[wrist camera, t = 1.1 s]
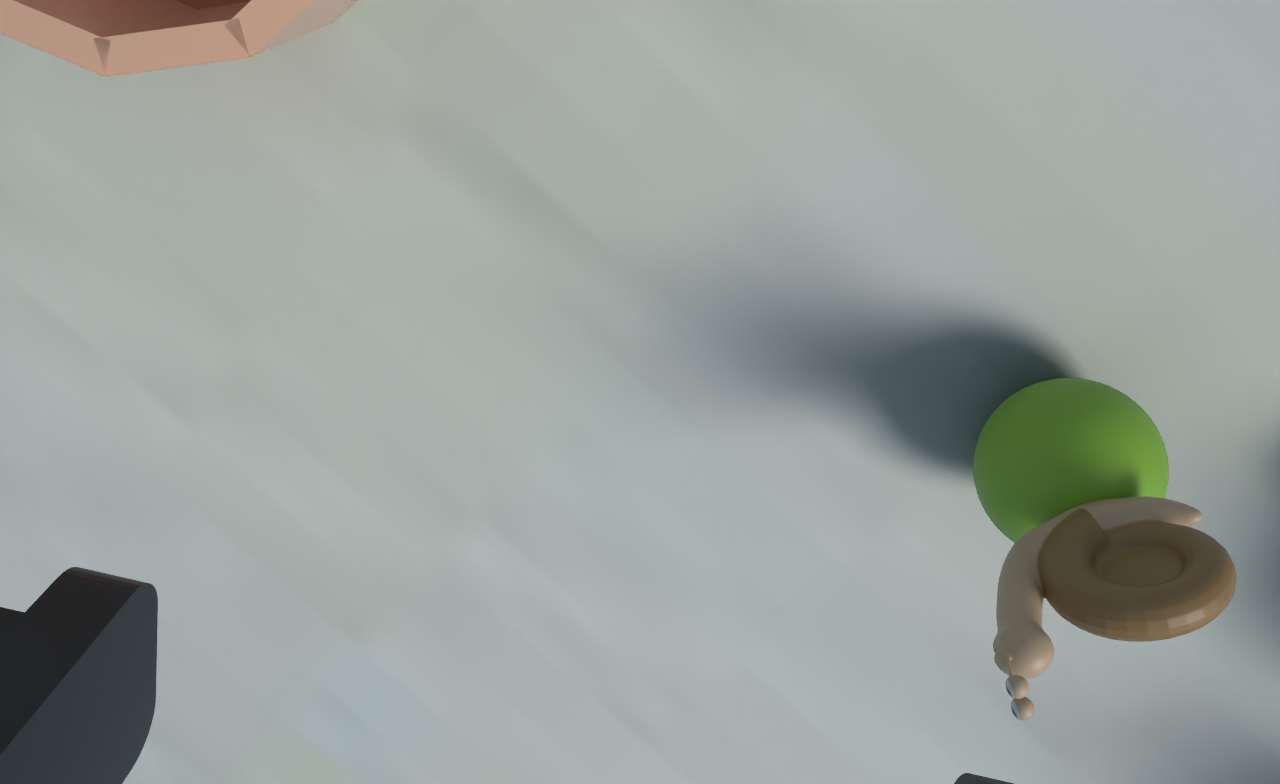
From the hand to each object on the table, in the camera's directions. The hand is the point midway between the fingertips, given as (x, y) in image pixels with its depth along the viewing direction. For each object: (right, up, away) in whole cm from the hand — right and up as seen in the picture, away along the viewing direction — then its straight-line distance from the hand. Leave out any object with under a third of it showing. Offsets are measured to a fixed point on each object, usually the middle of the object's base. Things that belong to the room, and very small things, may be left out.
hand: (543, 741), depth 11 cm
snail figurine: (+14, +2, +25) cm, 29 cm away
